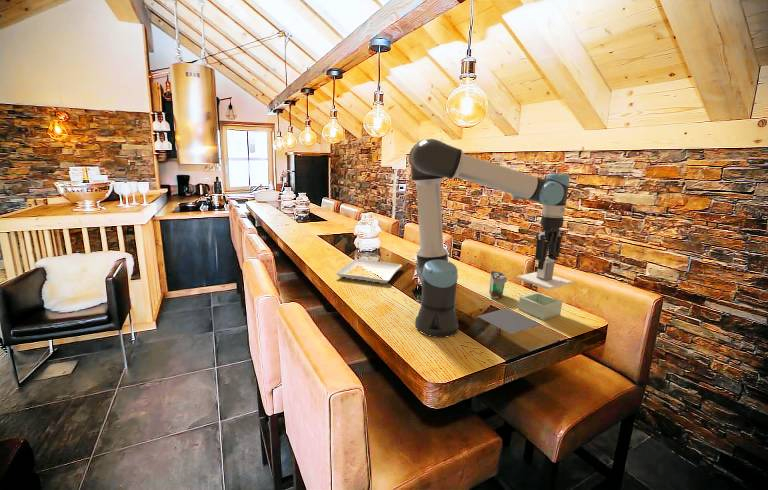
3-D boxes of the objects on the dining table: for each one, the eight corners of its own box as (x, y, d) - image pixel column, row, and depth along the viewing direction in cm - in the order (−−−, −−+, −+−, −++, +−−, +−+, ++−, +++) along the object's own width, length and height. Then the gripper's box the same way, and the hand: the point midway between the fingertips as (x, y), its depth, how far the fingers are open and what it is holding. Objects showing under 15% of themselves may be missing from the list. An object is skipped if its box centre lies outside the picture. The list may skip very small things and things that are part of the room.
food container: (506, 302, 150) (509, 280, 148) (491, 301, 151) (493, 279, 149) (503, 292, 162) (505, 271, 159) (489, 291, 163) (491, 270, 160)
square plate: (334, 280, 172) (334, 272, 172) (355, 264, 198) (355, 258, 197) (388, 287, 165) (388, 279, 164) (402, 270, 190) (402, 263, 189)
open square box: (542, 321, 133) (544, 306, 132) (518, 310, 142) (519, 296, 141) (560, 315, 139) (562, 301, 137) (535, 305, 148) (537, 292, 146)
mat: (511, 335, 122) (511, 334, 122) (476, 317, 135) (476, 316, 135) (540, 325, 130) (540, 324, 130) (505, 309, 143) (505, 308, 143)
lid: (549, 290, 128) (552, 268, 126) (516, 278, 139) (519, 259, 137) (571, 283, 135) (574, 263, 133) (539, 273, 146) (541, 254, 145)
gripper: (547, 219, 124) (539, 282, 129) (575, 216, 132) (566, 275, 138) (529, 216, 130) (521, 276, 135) (557, 213, 139) (549, 270, 144)
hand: (544, 276), depth 137 cm, fingers closed on lid, 4 cm apart
